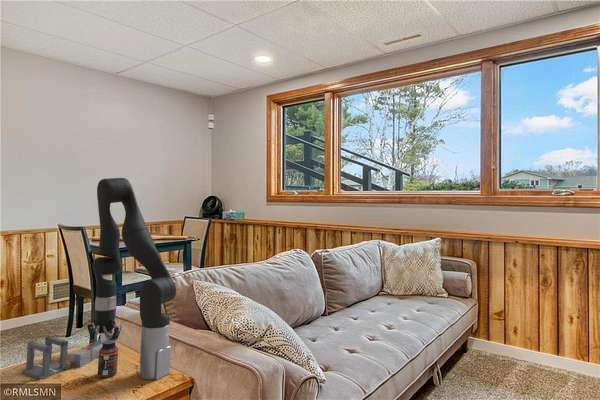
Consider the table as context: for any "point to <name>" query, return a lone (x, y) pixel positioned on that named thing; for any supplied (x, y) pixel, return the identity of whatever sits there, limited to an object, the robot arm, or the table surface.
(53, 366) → the collar stand
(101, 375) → the supplement bottle
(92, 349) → the grey rectangular bar
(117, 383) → the table surface
